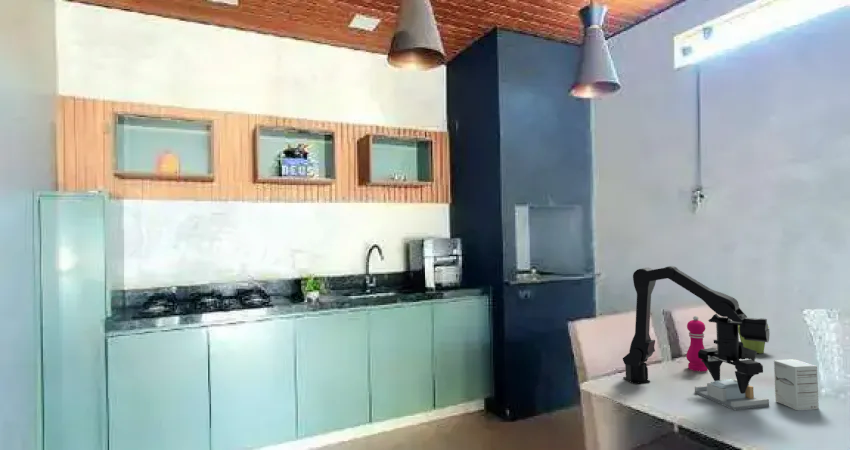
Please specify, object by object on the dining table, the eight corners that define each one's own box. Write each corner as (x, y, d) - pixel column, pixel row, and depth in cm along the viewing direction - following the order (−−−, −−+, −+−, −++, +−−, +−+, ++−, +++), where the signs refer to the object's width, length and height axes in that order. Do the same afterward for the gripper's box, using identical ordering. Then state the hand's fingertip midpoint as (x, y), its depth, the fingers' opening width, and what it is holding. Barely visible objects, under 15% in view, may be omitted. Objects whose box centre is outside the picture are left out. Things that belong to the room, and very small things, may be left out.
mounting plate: (734, 410, 132) (733, 395, 132) (694, 392, 147) (694, 379, 147) (769, 406, 135) (768, 391, 135) (726, 389, 149) (726, 376, 149)
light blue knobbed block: (721, 400, 138) (720, 384, 138) (711, 395, 142) (710, 379, 142) (749, 397, 140) (748, 381, 140) (738, 392, 144) (737, 377, 144)
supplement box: (774, 401, 138) (772, 359, 138) (797, 400, 138) (795, 358, 139) (796, 411, 130) (794, 366, 131) (820, 409, 131) (818, 365, 131)
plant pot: (736, 347, 202) (735, 321, 202) (769, 350, 195) (768, 324, 196) (735, 353, 192) (734, 326, 193) (771, 356, 186) (769, 329, 186)
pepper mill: (712, 372, 168) (710, 317, 168) (690, 371, 169) (688, 317, 170) (704, 366, 175) (702, 314, 175) (683, 366, 176) (681, 314, 177)
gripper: (777, 342, 134) (780, 396, 133) (725, 330, 152) (727, 377, 152) (745, 345, 132) (747, 399, 131) (695, 332, 150) (697, 380, 150)
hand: (729, 388), depth 141 cm, fingers open, 9 cm apart
